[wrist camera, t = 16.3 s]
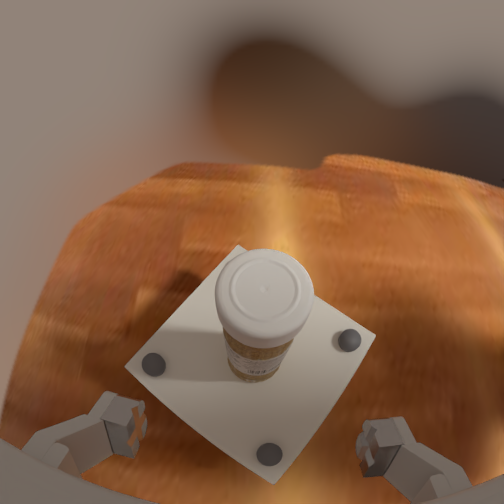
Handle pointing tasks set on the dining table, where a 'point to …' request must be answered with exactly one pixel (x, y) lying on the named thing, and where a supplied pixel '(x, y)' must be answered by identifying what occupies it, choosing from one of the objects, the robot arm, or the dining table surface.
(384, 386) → the dining table surface
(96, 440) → the robot arm
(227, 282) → the sprinkles bottle
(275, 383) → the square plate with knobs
